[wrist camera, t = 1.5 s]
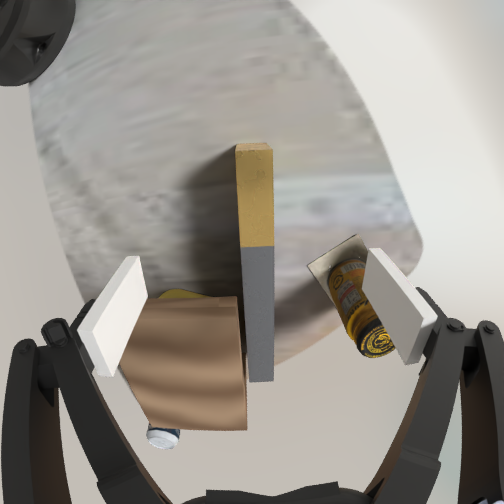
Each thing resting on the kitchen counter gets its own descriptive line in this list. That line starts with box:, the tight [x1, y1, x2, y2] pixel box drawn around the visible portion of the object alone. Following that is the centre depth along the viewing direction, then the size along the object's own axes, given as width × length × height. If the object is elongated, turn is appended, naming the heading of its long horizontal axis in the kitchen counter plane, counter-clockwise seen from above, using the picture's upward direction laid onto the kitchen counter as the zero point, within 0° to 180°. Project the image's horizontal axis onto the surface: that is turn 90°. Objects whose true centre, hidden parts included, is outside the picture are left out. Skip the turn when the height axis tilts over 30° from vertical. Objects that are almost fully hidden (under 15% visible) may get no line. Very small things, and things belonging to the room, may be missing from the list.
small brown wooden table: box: [119, 296, 247, 431], centre depth 32 cm, size 18×12×12 cm, turn 2°
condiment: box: [308, 234, 396, 358], centre depth 31 cm, size 7×8×12 cm
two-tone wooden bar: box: [235, 143, 274, 382], centre depth 32 cm, size 27×3×7 cm, turn 2°
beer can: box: [146, 422, 180, 449], centre depth 39 cm, size 5×5×12 cm
